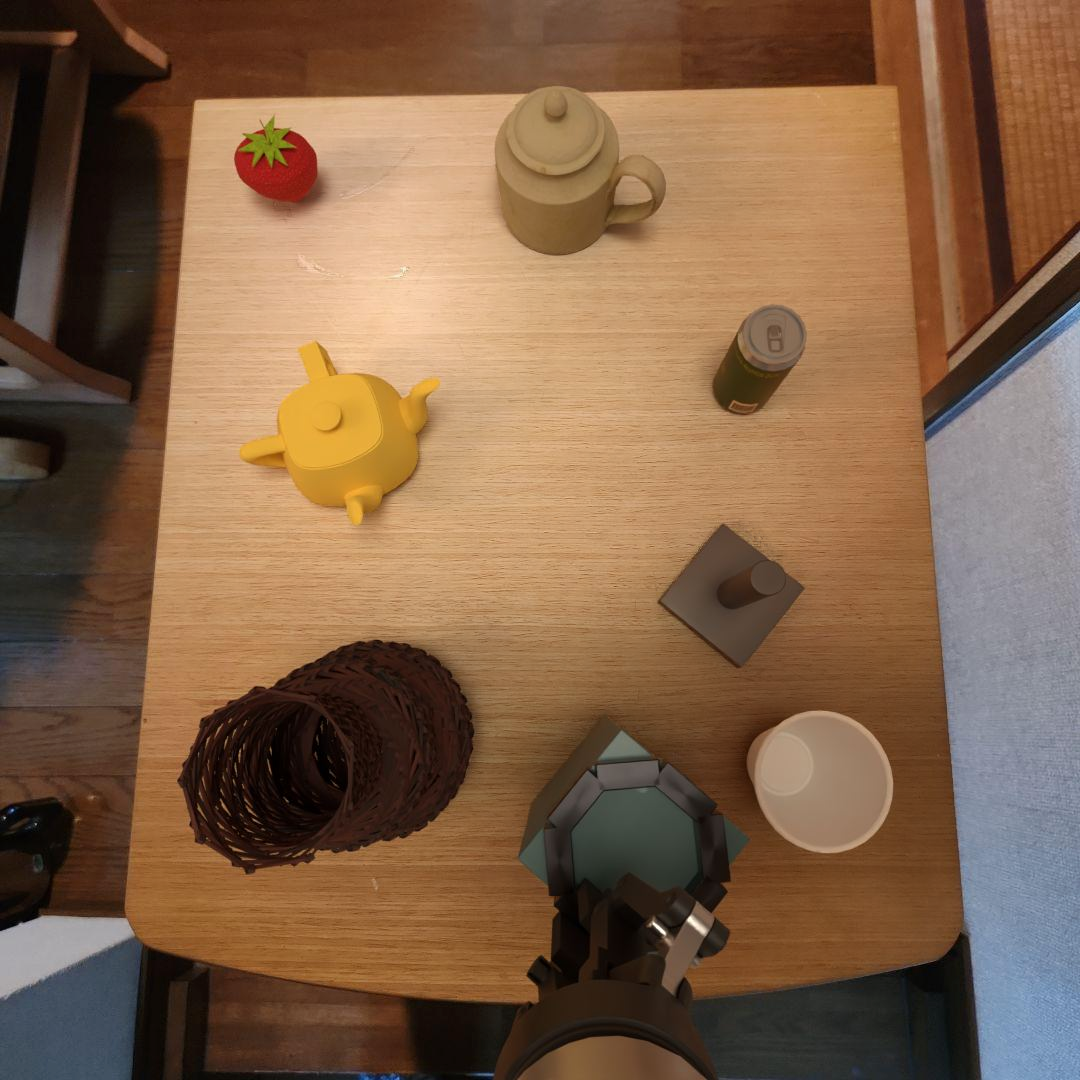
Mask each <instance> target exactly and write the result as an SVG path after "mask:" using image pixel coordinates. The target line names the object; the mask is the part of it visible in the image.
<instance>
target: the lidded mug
mask: <svg viewBox="0 0 1080 1080" xmlns="http://www.w3.org/2000/svg"><path fill="white" fill-rule="evenodd" d="M494 161H495V172H496V179H497V186H498V191H499V197H500V202H501V207H502V214H503V217H504V219H505V223H506V226H507V227H508V229H509V231H510V232H511V233H512V235H513V236H514V237H515V239H517V240H518V241H519V242H520V243H522V244H523V245H524V246H525V247H527V248H529V249H531V250H534V251H536V252H538V253H540V254H541V253H542V254H546V255H556V256H557V255H558V256H559V255H569V254H574V253H577V252H579V251H582V250H583V249H586V248H588V247H589V246H590V245H592V244H593V243H595V242H596V241H597V240H598V239H599V238H600V237H601V236H602V235H603V234H604V232H605V231H606V229H607V227H608V226H610V225H615V224H633V223H638V222H641V221H644V220H646V219H648V218H650V217H651V216H653V215H654V214H655V213H656V212H657V211H658V210H659V209H660V207H662V204H663V202H664V200H665V197H666V192H667V181H666V178H665V173H664V172H663V170H662V168H661V167H660V166H659V165H658V164H657V163H656V162H655V161H654V160H652V159H650V158H649V157H647V156H645V155H643V154H642V155H640V154H630V155H628V156H625V157H624V158H623V159H622V160H620V140H619V136H618V132H617V129H616V127H615V124H614V123H613V121H612V119H611V118H610V117H609V115H608V114H607V113H606V112H605V110H603V109H602V108H601V107H600V106H598V104H597V103H596V102H595V101H594V100H593V99H592V98H591V97H590V96H589V95H588V94H586V93H584V92H582V91H581V90H578V89H577V88H574V87H570V86H562V85H552V86H545V87H540V88H537V89H535V90H532V91H531V92H529V93H528V94H526V95H524V96H523V97H522V98H520V100H518V102H516V104H515V107H514V108H513V109H512V111H510V112H509V114H507V116H506V117H505V119H504V120H503V122H502V123H501V125H500V127H499V128H498V131H497V135H496V137H495V142H494ZM625 176H628V177H630V176H631V177H633V178H635V179H637V180H639V181H641V182H642V183H643V184H645V186H646V187H647V189H648V190H649V192H650V194H651V199H649V200H647V201H643V202H640V203H633V204H624V203H622V204H615V198H616V192H617V187H618V185H619V184H620V182H621V179H622V177H625Z"/></svg>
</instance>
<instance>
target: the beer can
mask: <svg viewBox="0 0 1080 1080" xmlns="http://www.w3.org/2000/svg"><path fill="white" fill-rule="evenodd" d="M806 327H807V326H806V324H805V322H804V320H803V319H802V317H801V315H799V314H798V313H797V312H796V311H795V310H794V309H792V308H790V307H788V306H785V305H783V304H775V303H773V304H767V305H762V306H760V307H759V308H756V309H755V310H754V311H752V312H751V313H749V314H748V315H747V317H745V319H744V320H743V321H742V322H741V324H740V326H739V327H738V329H737V332H736V333H735V336H734V338H733V340H732V342H731V343H730V345H729V348H728V349H727V351H726V353H725V355H724V357H723V359H722V362H721V363H720V365H719V367H718V369H717V370H716V372H715V375H714V377H713V384H712V388H713V392H714V397H715V398H716V400H717V402H718V403H719V404H720V405H721V406H722V407H723V408H725V409H726V410H727V411H729V412H732V413H734V414H741V415H747V414H753V413H756V412H757V411H759V410H760V409H762V408H763V407H765V405H766V404H767V403H768V402H769V401H770V399H771V397H772V396H773V395H774V394H775V392H776V391H777V390H778V389H779V387H780V386H781V384H783V382H784V380H785V379H786V378H787V377H788V375H789V374H790V373H791V371H792V370H793V369H794V368H795V366H796V365H797V363H798V362H799V361H800V359H801V358H802V356H803V354H804V351H805V349H806V343H807V337H808V332H807V328H806Z"/></svg>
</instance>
